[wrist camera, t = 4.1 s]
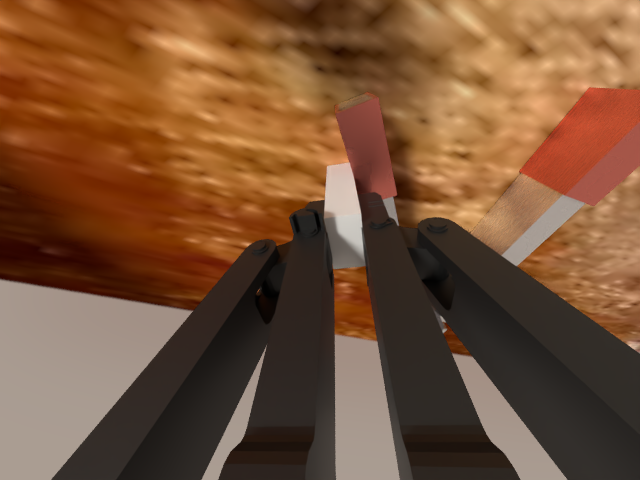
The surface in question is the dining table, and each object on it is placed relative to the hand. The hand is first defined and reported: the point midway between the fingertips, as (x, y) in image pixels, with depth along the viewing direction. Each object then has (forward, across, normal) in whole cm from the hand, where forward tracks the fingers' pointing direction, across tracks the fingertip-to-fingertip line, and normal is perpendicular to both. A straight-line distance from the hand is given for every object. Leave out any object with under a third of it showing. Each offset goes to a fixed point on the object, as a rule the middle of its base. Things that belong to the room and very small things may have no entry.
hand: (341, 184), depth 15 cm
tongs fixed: (+2, +9, -6) cm, 11 cm away
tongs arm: (+2, +3, -3) cm, 4 cm away
